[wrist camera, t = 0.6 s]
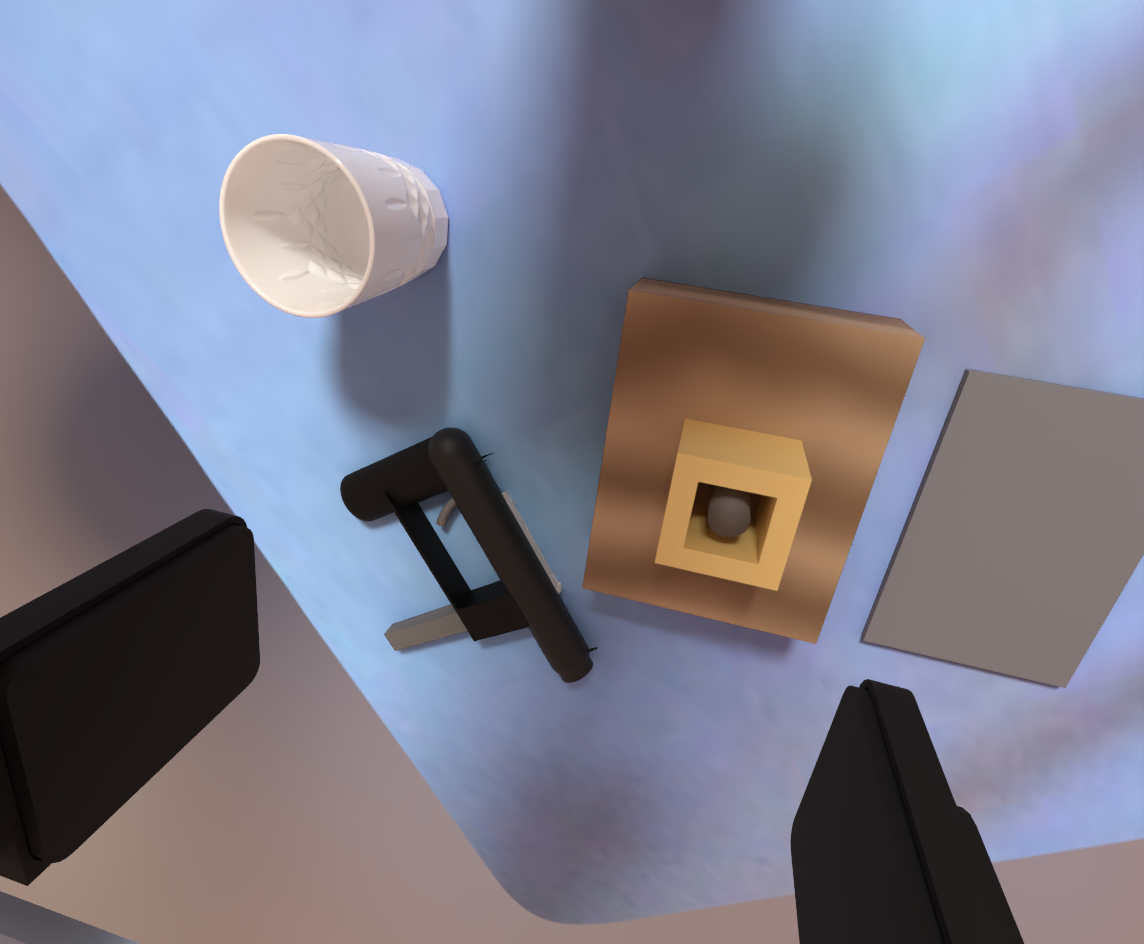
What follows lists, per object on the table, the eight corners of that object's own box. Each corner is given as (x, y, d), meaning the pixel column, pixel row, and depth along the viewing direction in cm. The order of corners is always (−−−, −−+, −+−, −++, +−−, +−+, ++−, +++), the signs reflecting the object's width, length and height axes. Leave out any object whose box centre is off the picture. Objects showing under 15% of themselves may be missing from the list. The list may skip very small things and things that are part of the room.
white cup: (477, 269, 39) (399, 293, 30) (367, 303, 41) (265, 335, 32) (430, 126, 36) (330, 106, 27) (316, 173, 39) (189, 168, 30)
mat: (966, 368, 35) (969, 371, 34) (1217, 410, 33) (1225, 414, 32) (861, 634, 42) (863, 640, 42) (1060, 681, 40) (1065, 688, 40)
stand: (641, 278, 37) (613, 304, 28) (900, 319, 34) (954, 361, 26) (597, 547, 44) (565, 632, 36) (807, 595, 42) (825, 698, 34)
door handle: (428, 715, 51) (604, 678, 45) (286, 503, 46) (460, 424, 39) (447, 686, 54) (614, 647, 48) (315, 483, 49) (482, 407, 42)
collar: (685, 418, 34) (677, 452, 30) (801, 440, 33) (812, 479, 29) (664, 517, 37) (654, 563, 32) (772, 540, 36) (777, 591, 31)
